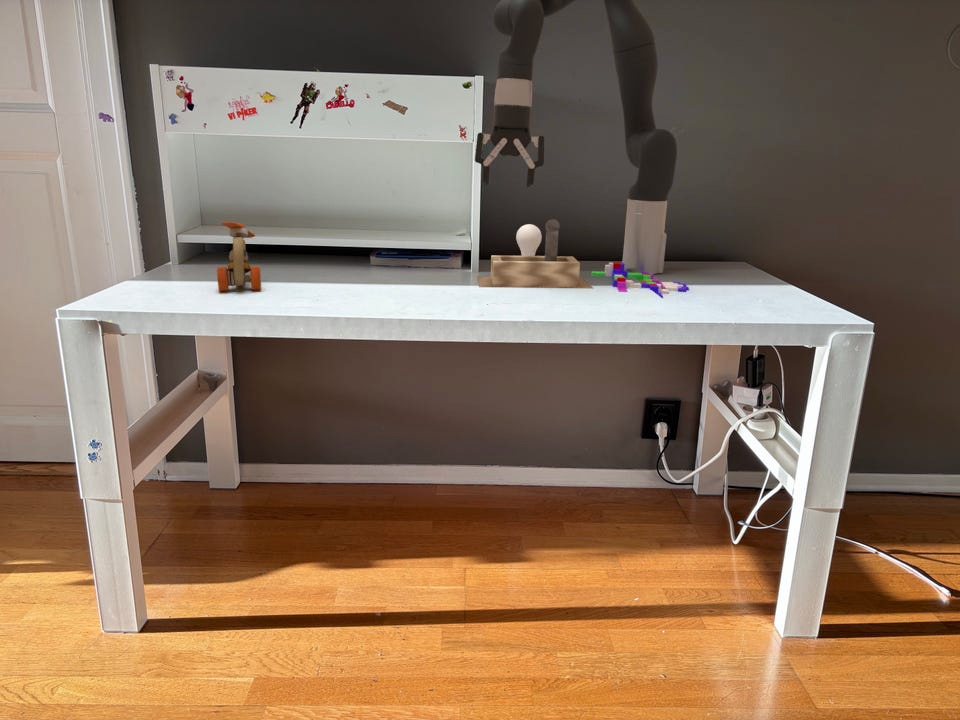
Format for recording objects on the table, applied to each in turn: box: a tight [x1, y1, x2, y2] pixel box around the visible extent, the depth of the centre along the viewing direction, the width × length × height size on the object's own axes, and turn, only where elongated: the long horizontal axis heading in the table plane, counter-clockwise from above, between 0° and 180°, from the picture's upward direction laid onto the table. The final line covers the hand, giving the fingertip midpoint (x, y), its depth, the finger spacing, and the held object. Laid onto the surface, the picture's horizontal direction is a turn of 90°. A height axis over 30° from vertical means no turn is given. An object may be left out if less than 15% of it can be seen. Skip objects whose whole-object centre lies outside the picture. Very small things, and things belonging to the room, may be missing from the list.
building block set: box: [591, 262, 690, 299], centre depth 155 cm, size 25×20×4 cm
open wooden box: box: [490, 254, 581, 287], centre depth 151 cm, size 18×9×5 cm, turn 93°
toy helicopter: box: [216, 221, 262, 292], centre depth 146 cm, size 8×21×14 cm, turn 17°
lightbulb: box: [515, 223, 543, 256], centre depth 169 cm, size 6×6×11 cm
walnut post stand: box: [476, 219, 595, 290], centre depth 150 cm, size 24×11×14 cm, turn 93°
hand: (507, 186), depth 147 cm, fingers open, 8 cm apart
